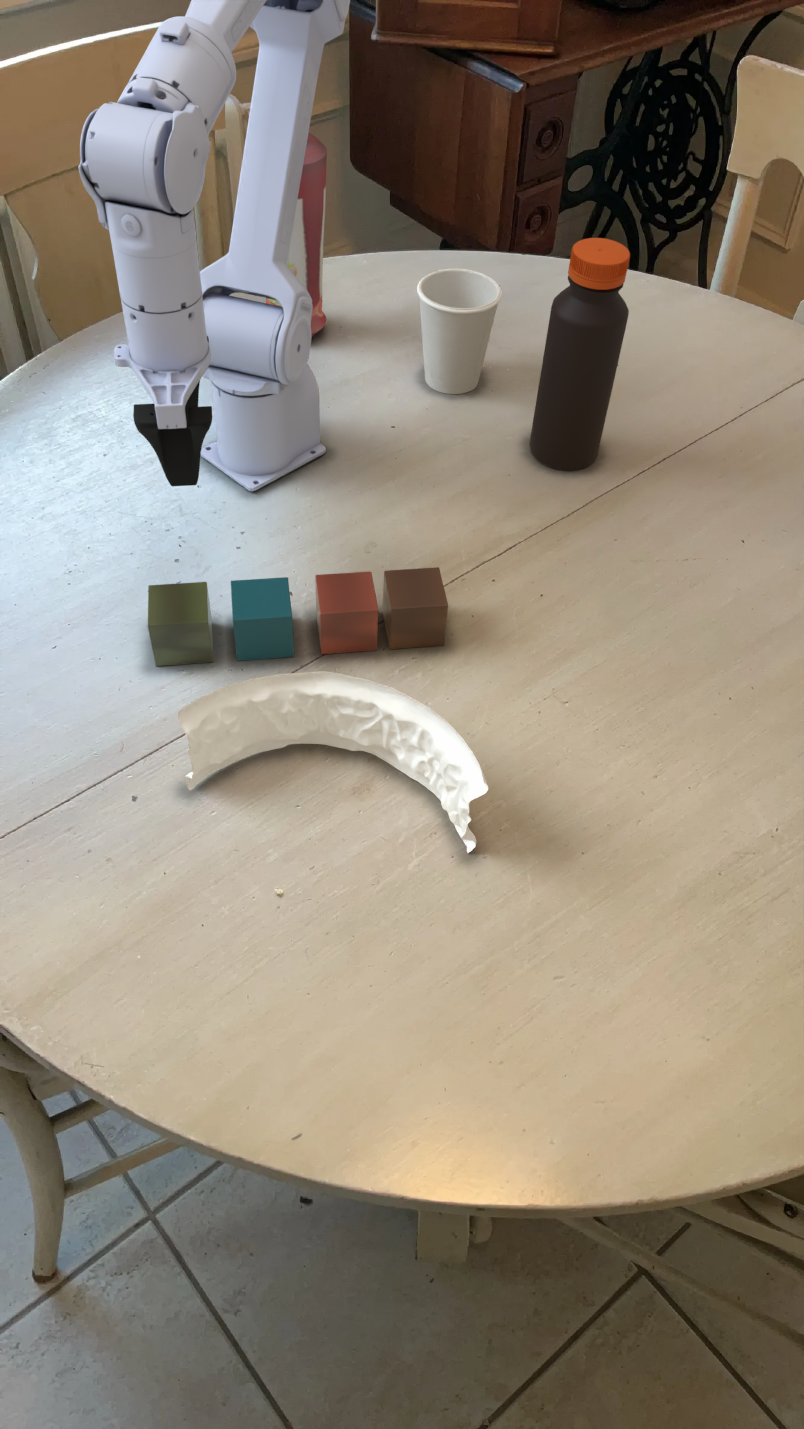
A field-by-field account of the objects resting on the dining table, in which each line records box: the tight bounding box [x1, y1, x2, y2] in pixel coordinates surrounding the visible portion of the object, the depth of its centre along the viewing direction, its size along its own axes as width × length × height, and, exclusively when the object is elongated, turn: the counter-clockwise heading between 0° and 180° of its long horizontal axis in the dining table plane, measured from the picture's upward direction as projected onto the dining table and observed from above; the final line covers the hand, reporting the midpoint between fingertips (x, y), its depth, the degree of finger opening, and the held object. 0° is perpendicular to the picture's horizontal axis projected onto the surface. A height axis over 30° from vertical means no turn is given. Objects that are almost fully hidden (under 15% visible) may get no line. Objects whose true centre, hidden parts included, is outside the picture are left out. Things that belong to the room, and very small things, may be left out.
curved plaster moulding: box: [176, 670, 489, 854], centre depth 72 cm, size 11×20×8 cm, turn 97°
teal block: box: [230, 576, 295, 662], centre depth 83 cm, size 4×4×4 cm
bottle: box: [528, 237, 631, 471], centre depth 96 cm, size 7×7×20 cm
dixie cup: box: [416, 268, 503, 395], centre depth 107 cm, size 8×8×10 cm
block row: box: [147, 566, 449, 667], centre depth 84 cm, size 23×4×4 cm, turn 98°
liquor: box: [265, 132, 328, 338], centre depth 105 cm, size 7×7×28 cm
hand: (183, 453), depth 85 cm, fingers open, 7 cm apart
